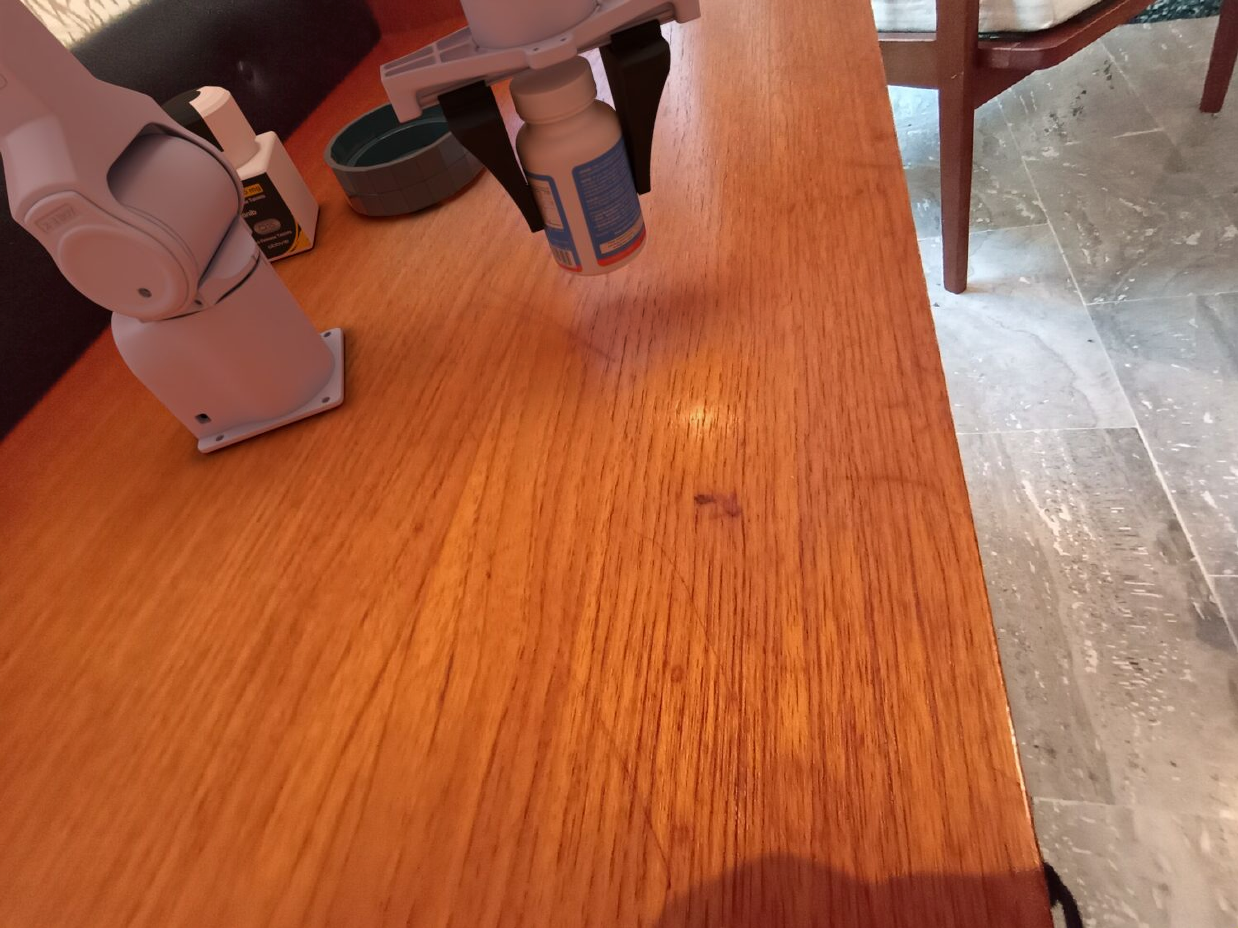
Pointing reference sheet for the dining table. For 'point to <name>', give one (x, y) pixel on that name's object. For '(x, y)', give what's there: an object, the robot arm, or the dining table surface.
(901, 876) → the dining table surface
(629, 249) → the pill bottle
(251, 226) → the medicine bottle
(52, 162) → the robot arm
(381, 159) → the bowl
